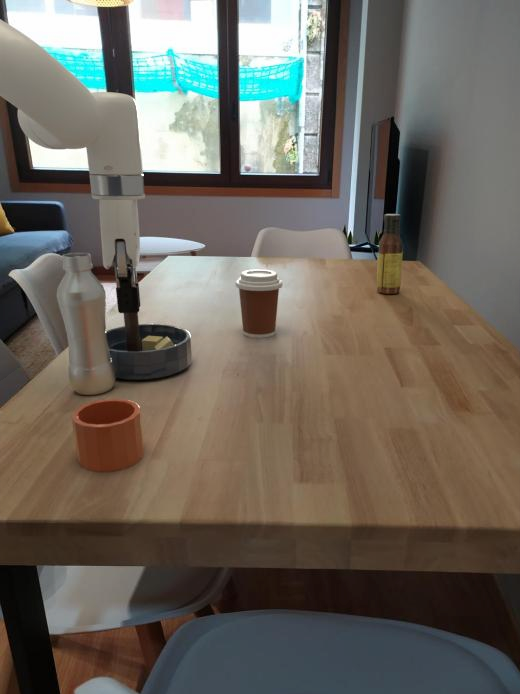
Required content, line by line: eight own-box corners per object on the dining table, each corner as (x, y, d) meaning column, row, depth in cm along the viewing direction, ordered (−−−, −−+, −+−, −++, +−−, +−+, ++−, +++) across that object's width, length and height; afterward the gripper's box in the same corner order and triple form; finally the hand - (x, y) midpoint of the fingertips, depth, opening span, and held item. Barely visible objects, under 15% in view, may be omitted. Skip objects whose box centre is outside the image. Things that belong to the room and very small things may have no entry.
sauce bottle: (404, 292, 144) (412, 214, 136) (391, 296, 140) (398, 216, 132) (383, 288, 148) (390, 212, 141) (370, 292, 144) (376, 214, 136)
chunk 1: (141, 340, 92) (148, 335, 95) (142, 355, 93) (149, 350, 96) (156, 341, 92) (163, 336, 94) (158, 357, 93) (164, 351, 95)
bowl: (92, 385, 82) (88, 354, 81) (103, 352, 96) (100, 325, 94) (193, 379, 85) (191, 349, 83) (190, 348, 99) (188, 322, 97)
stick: (127, 361, 89) (119, 276, 83) (128, 357, 91) (120, 273, 85) (141, 361, 89) (133, 276, 84) (142, 356, 91) (134, 273, 86)
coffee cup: (249, 342, 103) (248, 279, 98) (228, 329, 110) (227, 270, 106) (290, 335, 107) (291, 275, 103) (268, 324, 115) (268, 267, 110)
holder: (74, 478, 59) (66, 429, 57) (84, 446, 65) (77, 400, 63) (142, 472, 60) (138, 424, 58) (145, 441, 67) (141, 396, 64)
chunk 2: (170, 339, 89) (166, 336, 91) (157, 350, 88) (153, 346, 91) (180, 352, 90) (177, 348, 92) (167, 363, 90) (164, 358, 92)
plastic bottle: (124, 384, 83) (110, 251, 75) (104, 402, 77) (87, 260, 69) (85, 381, 84) (67, 249, 76) (62, 399, 78) (40, 258, 70)
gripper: (97, 185, 86) (110, 298, 93) (83, 191, 72) (99, 325, 79) (146, 185, 88) (155, 297, 95) (141, 191, 73) (152, 323, 80)
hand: (129, 309), depth 87 cm, fingers closed on stick, 2 cm apart
